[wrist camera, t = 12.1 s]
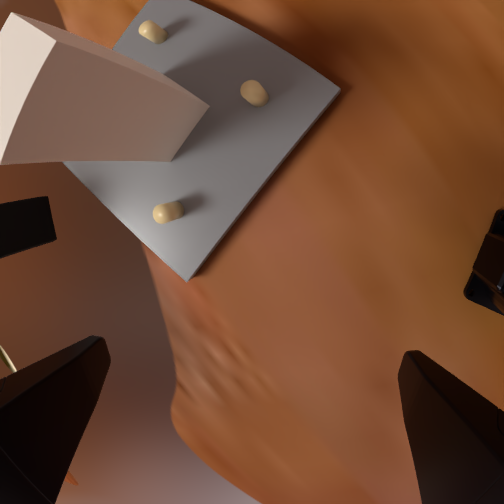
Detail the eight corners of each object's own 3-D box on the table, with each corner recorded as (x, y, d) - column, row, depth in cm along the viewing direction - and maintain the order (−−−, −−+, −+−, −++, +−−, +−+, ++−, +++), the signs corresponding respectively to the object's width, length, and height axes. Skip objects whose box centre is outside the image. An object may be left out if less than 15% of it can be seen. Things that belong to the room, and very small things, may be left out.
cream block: (210, 106, 19) (56, 40, 7) (170, 162, 20) (-1, 164, 8) (162, 73, 19) (11, 12, 7) (127, 126, 20) (-34, 111, 8)
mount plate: (340, 92, 18) (341, 79, 15) (192, 277, 23) (173, 291, 20) (165, -7, 18) (146, -23, 15) (62, 153, 23) (37, 153, 21)
